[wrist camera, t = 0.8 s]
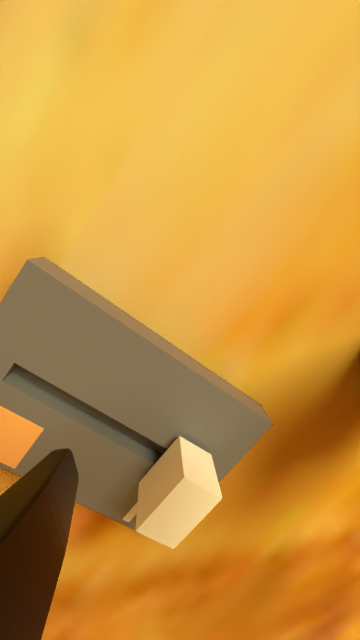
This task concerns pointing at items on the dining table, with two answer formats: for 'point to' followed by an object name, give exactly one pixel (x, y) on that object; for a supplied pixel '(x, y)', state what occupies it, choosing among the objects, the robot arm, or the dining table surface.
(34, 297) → the console
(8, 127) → the dining table surface
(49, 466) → the robot arm
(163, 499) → the fader
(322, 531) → the dining table surface
